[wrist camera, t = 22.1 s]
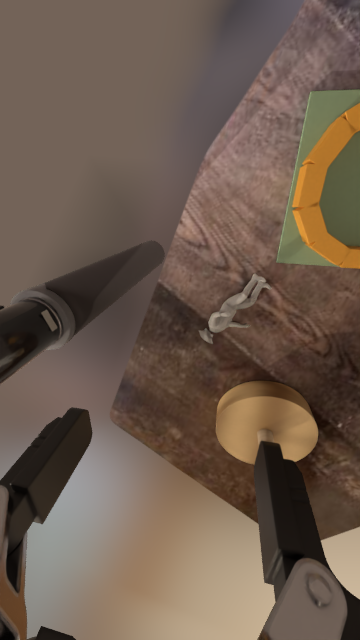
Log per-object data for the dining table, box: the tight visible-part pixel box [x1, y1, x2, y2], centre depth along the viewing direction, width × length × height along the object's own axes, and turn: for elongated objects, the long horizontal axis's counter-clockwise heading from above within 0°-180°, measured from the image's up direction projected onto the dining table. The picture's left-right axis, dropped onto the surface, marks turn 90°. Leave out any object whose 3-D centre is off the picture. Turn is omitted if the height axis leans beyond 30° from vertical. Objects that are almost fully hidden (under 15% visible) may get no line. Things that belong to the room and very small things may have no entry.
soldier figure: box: [199, 274, 272, 344], centre depth 36 cm, size 8×5×12 cm
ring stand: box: [216, 381, 318, 465], centre depth 41 cm, size 17×17×10 cm
